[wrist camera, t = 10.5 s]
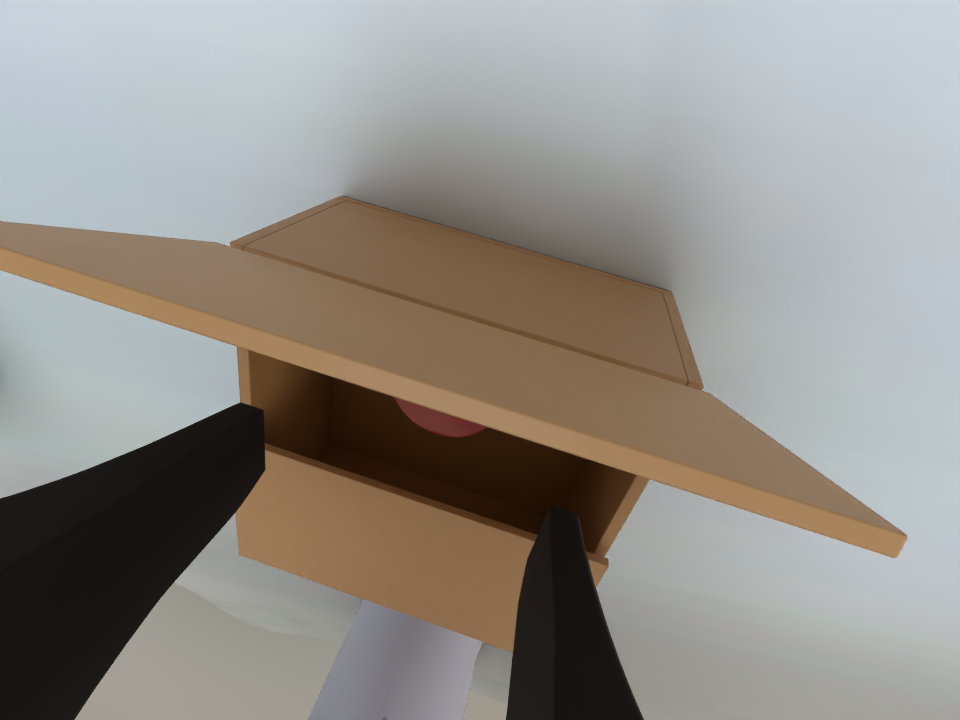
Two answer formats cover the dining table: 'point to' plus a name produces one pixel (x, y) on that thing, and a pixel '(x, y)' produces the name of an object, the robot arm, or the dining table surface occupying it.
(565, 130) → the dining table surface
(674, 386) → the flap
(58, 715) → the robot arm
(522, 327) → the carton
